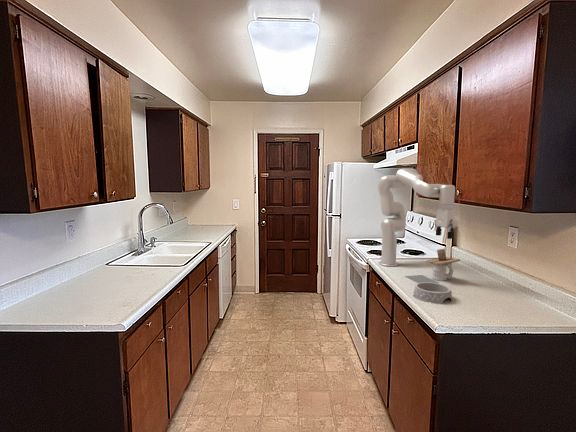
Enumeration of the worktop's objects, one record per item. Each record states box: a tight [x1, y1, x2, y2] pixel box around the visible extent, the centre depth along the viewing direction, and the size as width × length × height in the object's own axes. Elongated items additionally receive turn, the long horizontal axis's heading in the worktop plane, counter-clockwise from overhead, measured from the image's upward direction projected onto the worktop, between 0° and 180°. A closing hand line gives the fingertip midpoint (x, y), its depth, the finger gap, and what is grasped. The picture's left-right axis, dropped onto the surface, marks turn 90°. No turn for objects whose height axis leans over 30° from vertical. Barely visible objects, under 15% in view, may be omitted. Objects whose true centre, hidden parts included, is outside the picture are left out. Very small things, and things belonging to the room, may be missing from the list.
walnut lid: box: [425, 248, 461, 266], centre depth 195 cm, size 14×12×7 cm
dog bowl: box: [412, 282, 453, 304], centre depth 169 cm, size 17×18×5 cm
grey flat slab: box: [404, 274, 440, 284], centre depth 195 cm, size 16×12×1 cm
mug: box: [431, 263, 454, 282], centre depth 196 cm, size 8×12×12 cm, turn 94°
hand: (444, 236), depth 194 cm, fingers open, 9 cm apart
